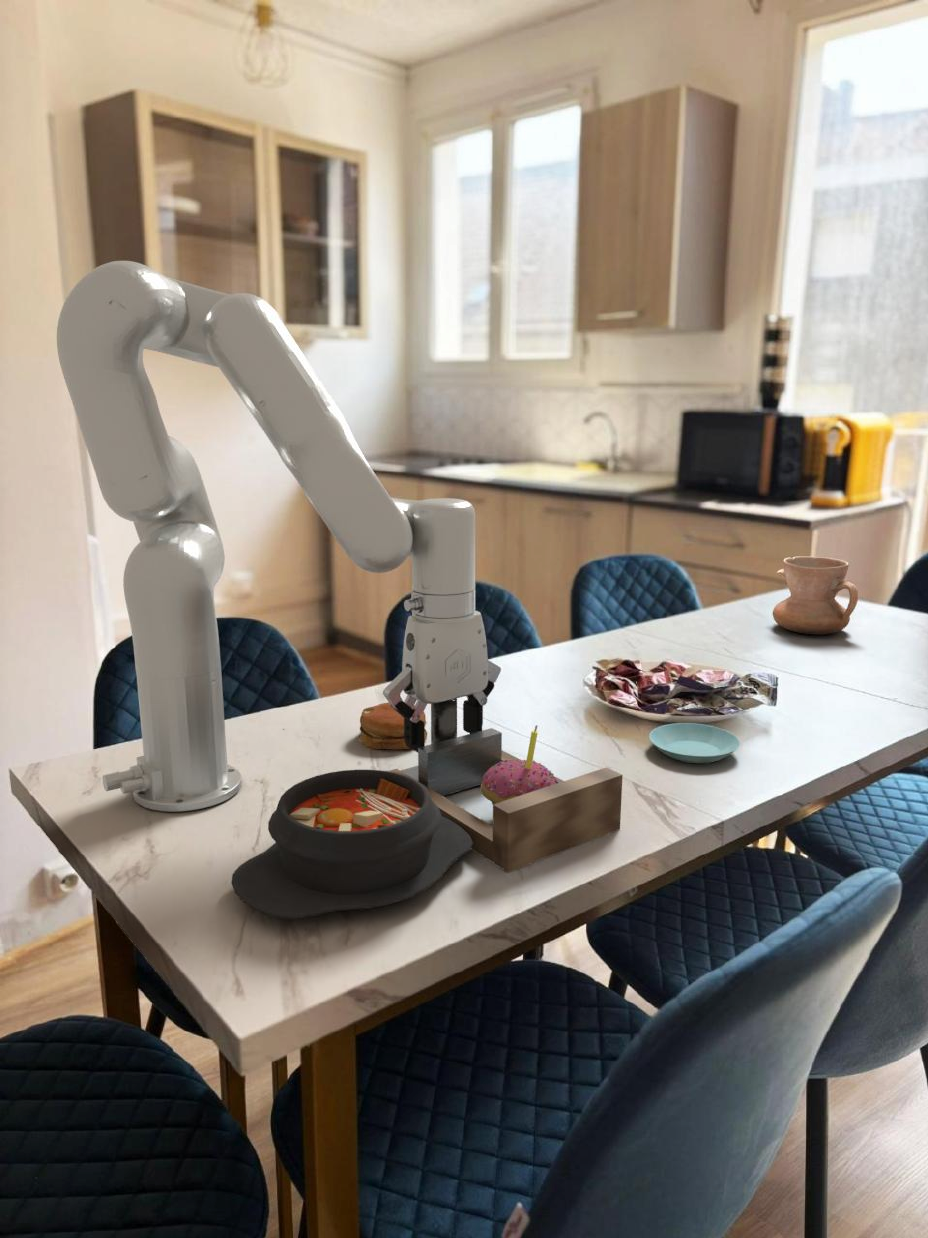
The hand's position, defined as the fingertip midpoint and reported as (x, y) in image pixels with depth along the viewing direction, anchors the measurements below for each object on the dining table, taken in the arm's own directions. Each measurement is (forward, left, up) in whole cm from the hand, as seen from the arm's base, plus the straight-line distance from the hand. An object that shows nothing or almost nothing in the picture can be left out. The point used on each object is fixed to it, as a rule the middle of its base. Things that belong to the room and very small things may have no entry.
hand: (444, 740), depth 114 cm
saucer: (+32, -12, -6) cm, 35 cm away
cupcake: (0, -14, -5) cm, 15 cm away
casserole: (-21, -14, -5) cm, 25 cm away
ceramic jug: (+101, +16, -5) cm, 102 cm away
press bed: (0, -10, -5) cm, 12 cm away
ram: (0, -1, -5) cm, 5 cm away
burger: (+2, +15, -5) cm, 16 cm away
